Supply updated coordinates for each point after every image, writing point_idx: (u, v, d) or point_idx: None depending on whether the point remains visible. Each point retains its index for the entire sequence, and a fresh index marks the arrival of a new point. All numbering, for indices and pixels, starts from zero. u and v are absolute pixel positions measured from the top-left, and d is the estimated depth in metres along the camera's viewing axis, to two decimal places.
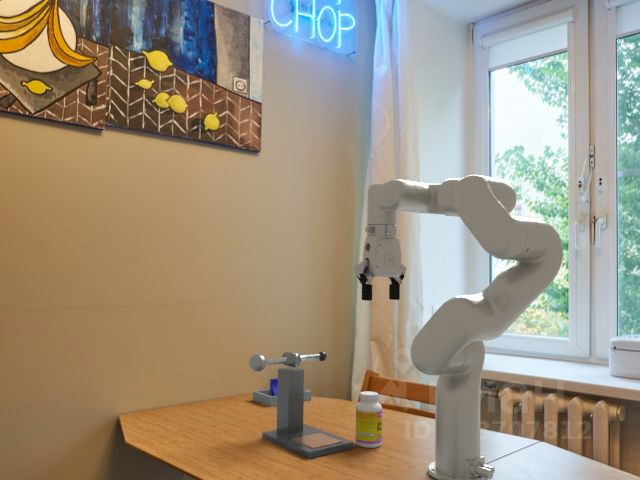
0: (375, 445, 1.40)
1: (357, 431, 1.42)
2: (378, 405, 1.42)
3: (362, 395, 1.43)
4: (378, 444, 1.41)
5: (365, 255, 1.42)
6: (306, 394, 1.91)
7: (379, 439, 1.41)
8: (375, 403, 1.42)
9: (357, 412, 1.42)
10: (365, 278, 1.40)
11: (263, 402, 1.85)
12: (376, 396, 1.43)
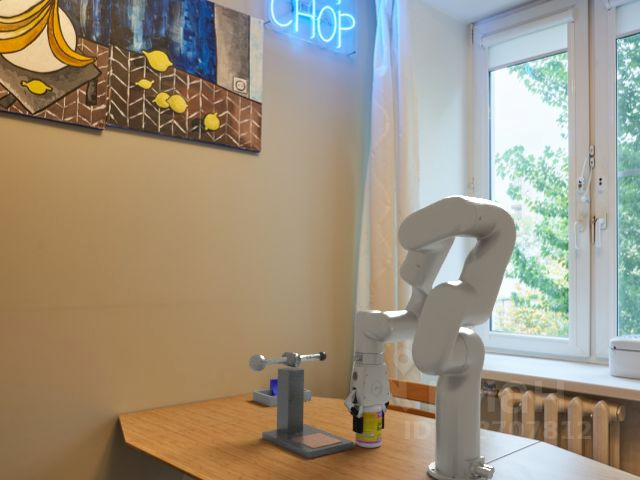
0: (375, 445, 1.40)
1: None
2: (378, 405, 1.42)
3: None
4: (378, 444, 1.41)
5: (353, 384, 1.41)
6: (306, 394, 1.91)
7: (379, 439, 1.41)
8: None
9: None
10: (355, 412, 1.40)
11: (263, 402, 1.85)
12: None
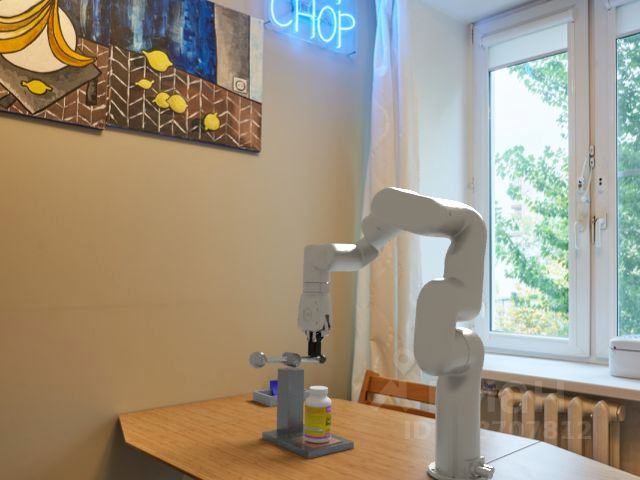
0: (323, 440, 1.38)
1: (306, 426, 1.39)
2: (327, 400, 1.40)
3: (311, 389, 1.40)
4: (327, 439, 1.38)
5: None
6: (306, 394, 1.91)
7: (328, 434, 1.39)
8: (324, 398, 1.40)
9: (306, 407, 1.40)
10: (307, 337, 1.57)
11: (263, 402, 1.85)
12: (325, 390, 1.40)
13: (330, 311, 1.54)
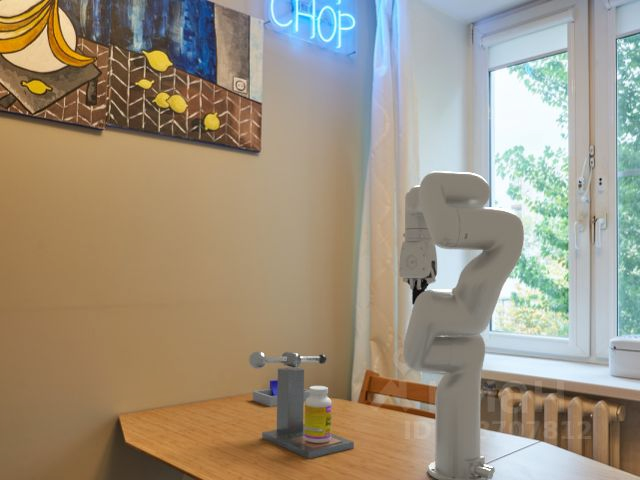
0: (323, 440, 1.38)
1: (306, 426, 1.39)
2: (327, 400, 1.40)
3: (311, 389, 1.40)
4: (327, 439, 1.38)
5: None
6: (306, 394, 1.91)
7: (328, 434, 1.39)
8: (324, 398, 1.40)
9: (306, 407, 1.40)
10: (410, 286, 1.54)
11: (263, 402, 1.85)
12: (325, 390, 1.40)
13: (436, 257, 1.50)
